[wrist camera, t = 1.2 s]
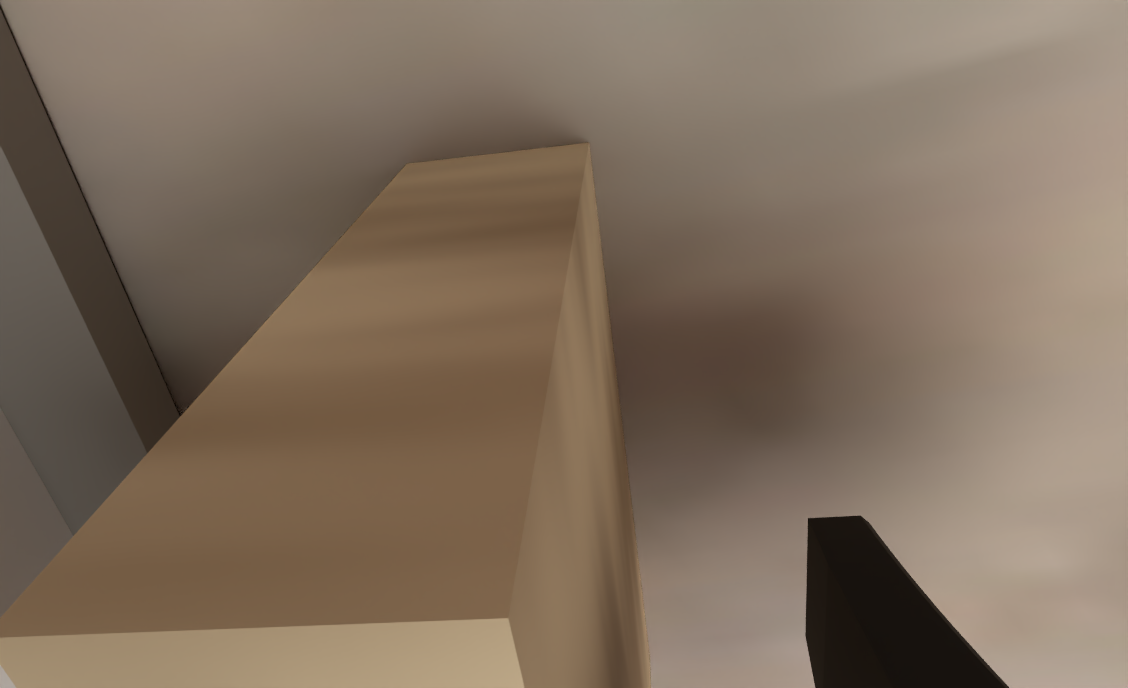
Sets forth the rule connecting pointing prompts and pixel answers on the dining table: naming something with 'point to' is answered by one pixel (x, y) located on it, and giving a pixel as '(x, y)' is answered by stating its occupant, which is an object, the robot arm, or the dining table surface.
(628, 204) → the dining table surface
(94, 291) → the track board
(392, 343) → the door panel
